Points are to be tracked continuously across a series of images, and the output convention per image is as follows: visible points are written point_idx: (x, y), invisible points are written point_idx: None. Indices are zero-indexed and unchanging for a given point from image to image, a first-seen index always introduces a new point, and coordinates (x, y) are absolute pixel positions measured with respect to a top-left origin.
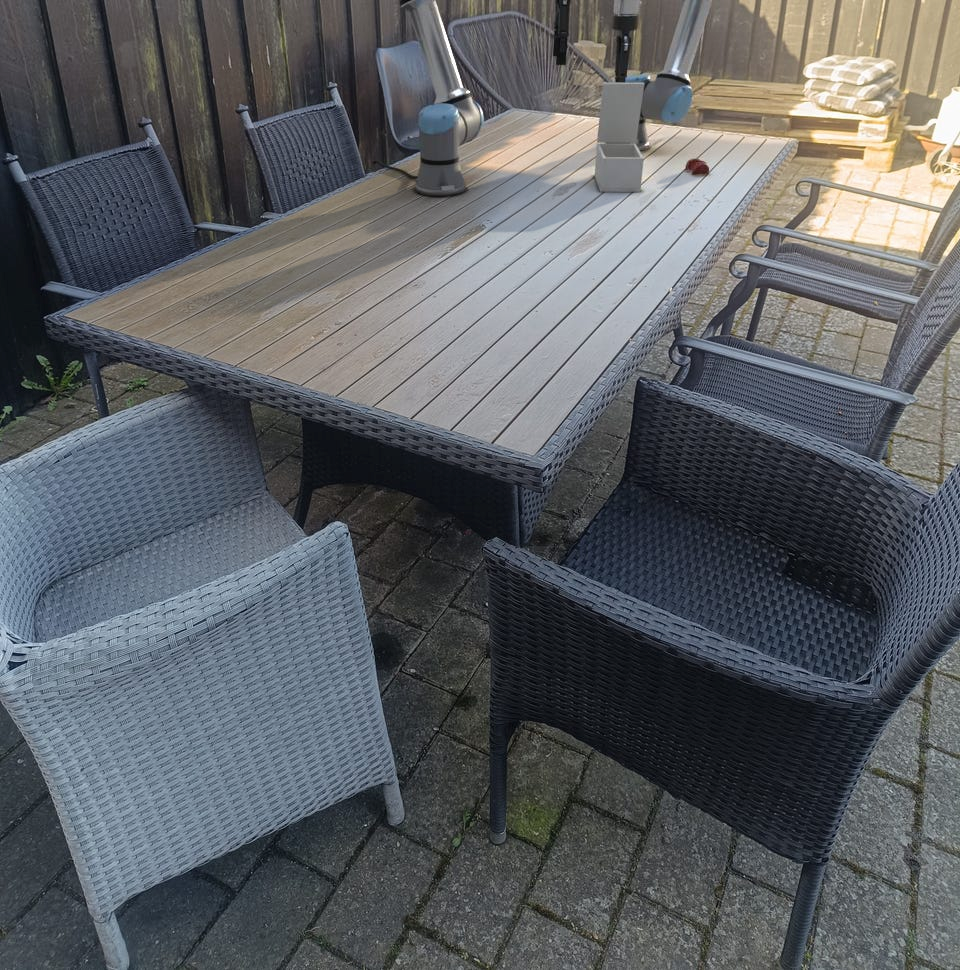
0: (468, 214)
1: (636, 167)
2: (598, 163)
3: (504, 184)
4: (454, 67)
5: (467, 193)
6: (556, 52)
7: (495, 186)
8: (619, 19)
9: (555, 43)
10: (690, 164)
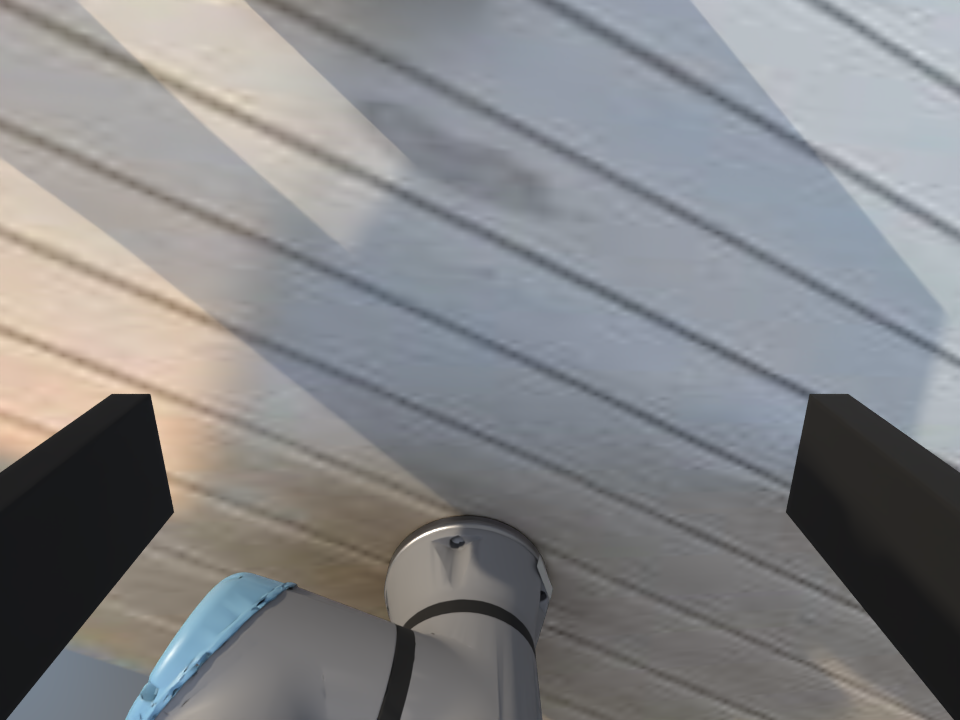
0: (730, 501)
1: None
2: None
3: (398, 391)
4: None
5: (508, 506)
6: (139, 498)
7: (425, 421)
8: None
9: (72, 605)
10: None
